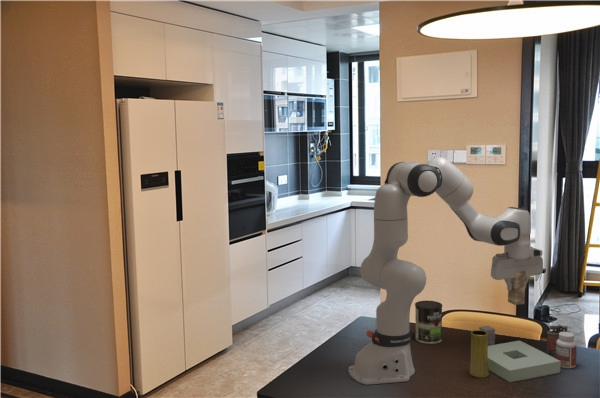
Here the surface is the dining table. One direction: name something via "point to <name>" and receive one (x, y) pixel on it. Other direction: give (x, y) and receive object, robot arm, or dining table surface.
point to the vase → (479, 354)
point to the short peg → (489, 334)
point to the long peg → (517, 289)
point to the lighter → (554, 337)
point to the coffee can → (428, 322)
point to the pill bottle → (566, 350)
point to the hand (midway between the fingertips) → (516, 288)
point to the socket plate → (520, 361)
